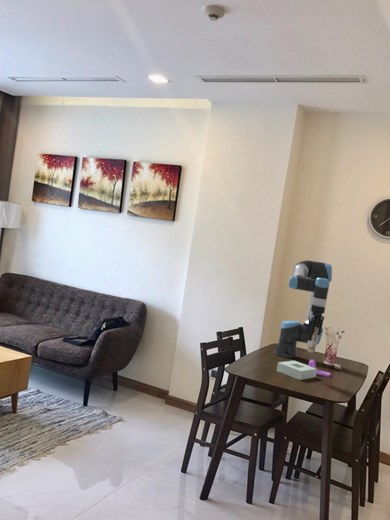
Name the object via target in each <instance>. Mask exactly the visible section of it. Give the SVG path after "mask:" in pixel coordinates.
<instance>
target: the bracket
mask: <svg viewBox="0 0 390 520" xmlns="http://www.w3.org/2000/svg"><path fill="white" fill-rule="evenodd" d="M307 365H308V366H311V367H313V368H316V366H317V364H316V361H315V360H314V359H310V360H308V364H307ZM317 374H318V375H319V376H322V375H323V377H328V378H329V377H331V372H327V371H323V370H318V369H317V372H316V375H317Z"/></svg>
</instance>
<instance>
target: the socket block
mask: <svg viewBox="0 0 390 520" xmlns="http://www.w3.org/2000/svg"><path fill="white" fill-rule="evenodd" d="M308 365H309V364H305V363H302V362H299V361H296V360H288V361H280V362H279V361H278V362H277V365H276V372H278V373H281V374H283V375H286V376H289V377H290V378H293V379H296V380H299V381H301V380H308V379H314V377H315V378H316V376H317V374H316V372H317V370H318V369H317V368H316V367H315V368H313V367H311V366H308Z"/></svg>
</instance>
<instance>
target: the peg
mask: <svg viewBox="0 0 390 520" xmlns="http://www.w3.org/2000/svg"><path fill="white" fill-rule="evenodd" d="M318 329H319V328H317V327H315V330H314V333H313V335H314V338H313V344H312V347H310V346H307V349H306V350H307V352H308V353H312V354H315V351H316V347H317V345H316V341H317V335H318Z"/></svg>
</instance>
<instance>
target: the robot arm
mask: <svg viewBox="0 0 390 520" xmlns="http://www.w3.org/2000/svg"><path fill="white" fill-rule="evenodd" d="M332 267H333V266H332V265H331V264H330V263H327V262H321V261H313V260H309V259H308V260H306V259H305V260H301V261H300V262H297V263H295V265H294V266H293V269H292V271H293V275H291V276H289V281H288V288H289V289H293V290H299V291H303V292H310V295H309V296H310V297H309V302H308V307H307V308H308V309H307V314H306V320H304V321H303V322H302V323H303V324H301V322H300V321H299V320H290V319H289V320H283V321H282V322H281V327H280V332H279V338H278V342H277V344H276V347H275V349H274V352H273V353H274V355H277V356H278V357H282V358H285V359H286V358H287V359H297V358H298V349H297V344H298V343H302V344H303V343H304V344H306V345H307V347H308V346H310V347H312V344H313V338H314V335H313V333H314V330H315V327H317V328H319V329H318V335H317V341H316V346H317V345H319V344H320V342H321V340H322V336H323V332H324V328H323V326H324V325H323V323H324V320H325V316H323V314H325V313H326V312H325V310H326V305H327V299H328V293H329V287H330V282H332V278H333V269H332ZM297 342H298V343H297Z"/></svg>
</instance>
